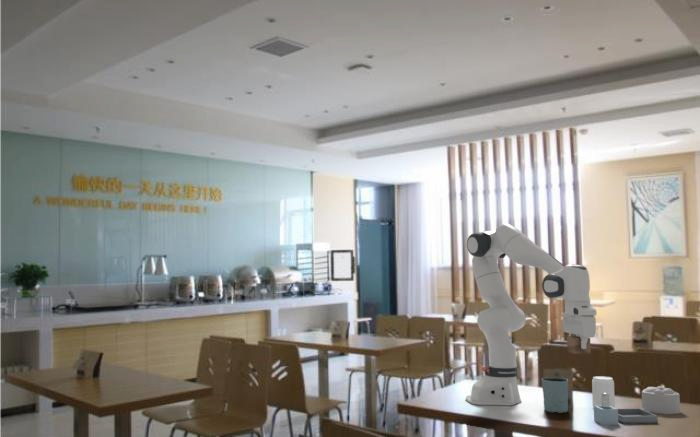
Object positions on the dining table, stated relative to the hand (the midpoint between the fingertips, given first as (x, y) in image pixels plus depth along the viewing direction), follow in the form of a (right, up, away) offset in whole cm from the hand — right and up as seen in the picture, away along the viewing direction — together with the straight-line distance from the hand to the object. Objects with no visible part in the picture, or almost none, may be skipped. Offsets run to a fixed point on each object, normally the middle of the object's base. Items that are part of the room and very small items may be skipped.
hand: (578, 347), depth 227 cm
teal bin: (-3, -29, +18) cm, 34 cm away
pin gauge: (+9, -26, -1) cm, 27 cm away
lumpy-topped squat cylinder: (+38, -28, +17) cm, 51 cm away
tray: (+21, -27, +3) cm, 34 cm away
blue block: (+9, -27, -1) cm, 29 cm away
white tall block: (+17, -29, +20) cm, 39 cm away
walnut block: (0, -2, 0) cm, 2 cm away
